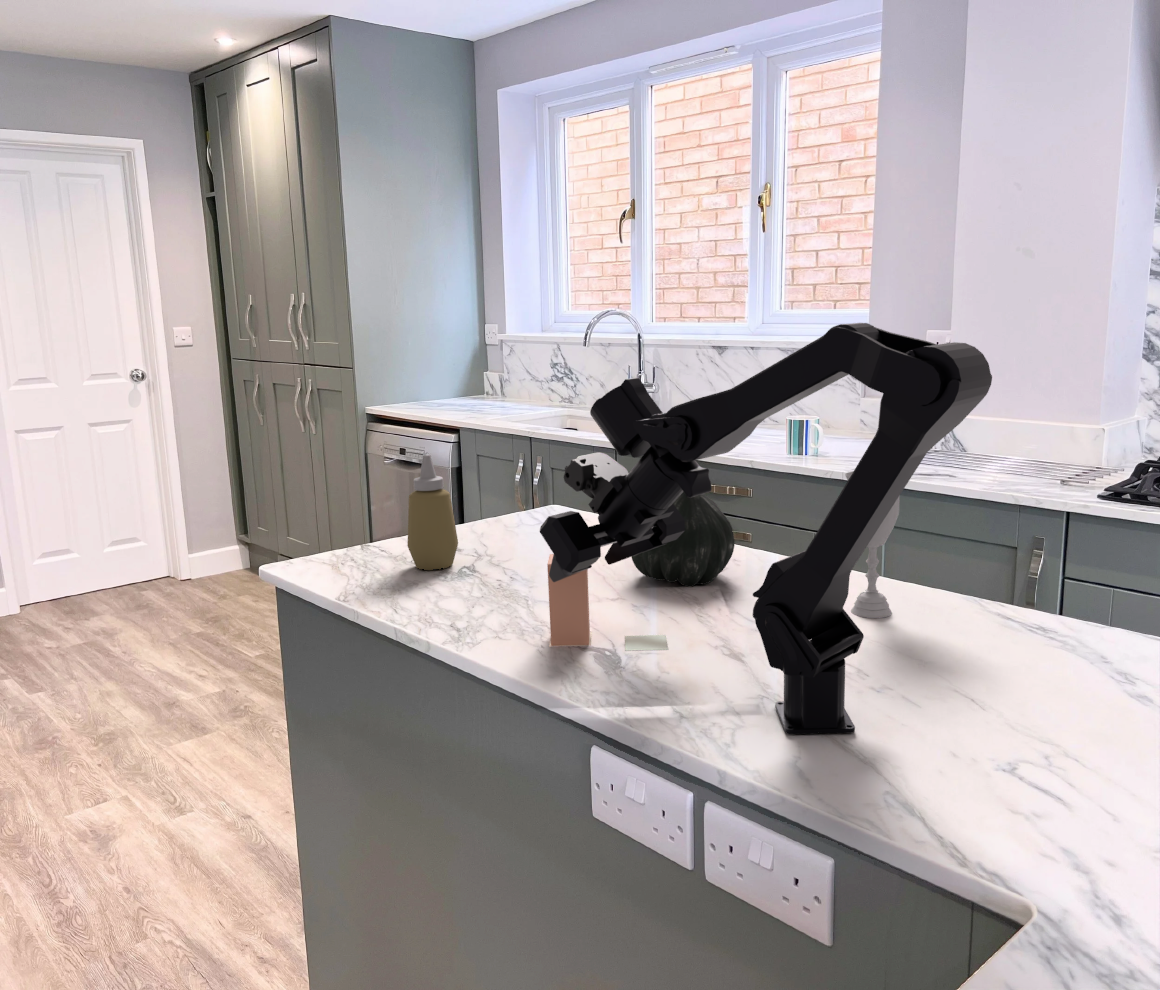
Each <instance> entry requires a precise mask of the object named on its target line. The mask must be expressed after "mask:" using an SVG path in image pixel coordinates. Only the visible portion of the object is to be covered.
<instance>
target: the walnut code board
mask: <svg viewBox="0 0 1160 990" xmlns="http://www.w3.org/2000/svg"><path fill="white" fill-rule="evenodd" d="M592 633H593V631H592V630H590V637H589V645H552V646H551V637H550V638H549V644H548V645H549V646H548V647H550V648H552V647H584V646H585V647H587V646H589V647H590V646H592V637H593V634H592ZM667 639H668V638H667V635H666V634H646V635H643V634H642V635H641V634H640V635H624V650H625V652H631V651H632V652H633V651H635V652H636V651H638V652H639V651H669V647H668V645H669V644H668V640H667Z"/></svg>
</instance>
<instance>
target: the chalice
mask: <svg viewBox="0 0 1160 990" xmlns="http://www.w3.org/2000/svg"><path fill="white" fill-rule="evenodd" d="M852 473H853V471H850V472H849V471H848V472H846V473H845V478H846V480H847V481H848V480H849V478H850V476H851V475H852ZM900 500H901V499H900V496H899V497H898V499H897V500H896V502H895V503H894V505H893V506H892V508H891V510H890V511H889V513H888V514H887V516H886V517H885V519H884V520H883V522H882V524H881V525H880V527H879V528H878V530H877V531H876V533H875V534H874V536H873V538H872V539H871V541H870V542H869V544H868V545H867V548H868V556H867V559H866V560H865V562H866V564H867V567H868V570H867V573H865V575H864V576H865V577H866V578H867V583H868V585H867V588H866V589H864V590H865V591H863V592H860V593H859V595H857V597H856V599H855V602H854V603H853V604H854V605H853V607H852V608H851V610H850V612H851V613H852V614H853V615H855V616H858V617H861V618H868V619H879V618H880V619H881V618H888V617H889V616H891V615H892V613H893V612H892V610H891V608H890V604H889V603H888V601H887V598H886V595H884V593H881V592H879V590H878V589H877V581H878V578H879V577H880V574H879V573H878V572H877V567H878V564H879V563H880V560H879V559H878V553H877V551H878V547H881V546H883V545H885V544H886V542H887V540H888V539H889V537H890V534H891V533H892V531H893V529H894V527H895V525H896V523H897V520H898V517H899V516H900Z"/></svg>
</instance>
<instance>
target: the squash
mask: <svg viewBox="0 0 1160 990" xmlns="http://www.w3.org/2000/svg"><path fill="white" fill-rule="evenodd" d="M673 504H674V506H675V507H676V508H677V510H678V511H679V513H680V514H681V515H682V517H683V518H684V520H685V531H684V532H683V533H682V534H681V535H680V536H679V537H678V539H677V540H674V541H671V542H668V543H667V544H665V545H662V546H659V547H657V548H654V549H651V550H648V551H646V552H643V553H640V554H638V555H635V556H632V557H631V561H632V563H633V564H634V566H635V569H637V570H638V571H639V572H640V573H641V575H644V576H645V577H648V578H650V579H654V580H657V581H663V580H666V582H669V583H674V582H676V581H678V582H679V583H680V584H681V585H683V586H685V587H694V586H695V585H697V584H698V585H705V584H709V583H711V582H712V581H714V580H715V579H716V578H717V576H719V574H720V573H722V571H723V570H725V568H726V566H727V565H728V564H729V562H730V561H731V559H732V556H733V554H734V551H735V550H734V549H735V535H734V529H733V527H732V524H731V522H730V520H729V519H728V518H727V516H726V515H725V514H724V512H723V511H722V510H721V509H720V506H718V504H717V503H716V502H715V501H714V500H713V499H711V498H710V497H709V496H707V495H706V493H705V494H702V495H698V496H695V497H691V498H689V497H687V496H686V494H685V493H684V492H683V493H682V494H681V495H680V496H679V497H678V498H677V499H676V500H675V502H674V503H673Z"/></svg>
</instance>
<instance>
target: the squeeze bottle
mask: <svg viewBox="0 0 1160 990" xmlns="http://www.w3.org/2000/svg"><path fill="white" fill-rule="evenodd" d="M421 460H422V461H421V467H420V473H419V474H420V475H419V476H418V477H415V478H413V489H414V491H412V492H411V493H410V494H409V495H408V515H407V516H408V517H407V548H408V551H409V553H410V556H411V558H412V561H413V563H414V565H415V567H416V568H417V569H418V568H419V570H422V569H424V571H434V570H433V569H439V570H442V569H441V568H443V569H447V568H450V567H451V566H452V565H453V564H454V560H455V557H456V554H457V549H458V546H459V539H458V534H457V528H456V522H455V516H454V509H453V503H452V498H451V493H450V492H449V491H448V490H447V489H443V488H444V484H445V483H444V477H443V476H439V475H437V473H436V470H435V467H434V464H433V460H432V457H431V455H430V454H424V455H422V459H421ZM449 566H450V567H449Z"/></svg>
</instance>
